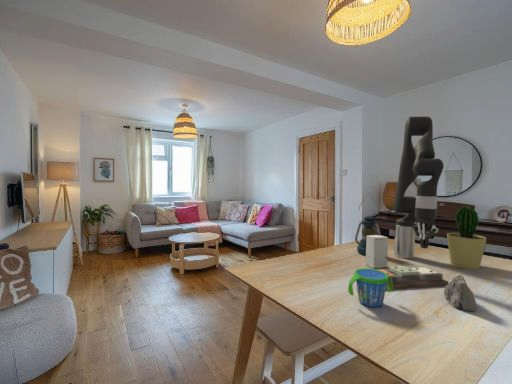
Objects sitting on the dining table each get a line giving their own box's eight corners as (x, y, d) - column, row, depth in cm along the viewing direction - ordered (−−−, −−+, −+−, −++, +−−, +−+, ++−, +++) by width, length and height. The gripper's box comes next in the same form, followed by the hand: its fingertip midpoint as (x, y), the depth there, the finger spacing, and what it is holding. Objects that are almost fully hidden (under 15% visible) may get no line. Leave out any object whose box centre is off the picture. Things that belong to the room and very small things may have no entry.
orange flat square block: (367, 274, 110) (367, 269, 110) (382, 273, 111) (383, 268, 111) (378, 281, 103) (378, 275, 103) (394, 280, 104) (394, 274, 104)
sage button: (389, 271, 112) (389, 266, 112) (403, 270, 113) (404, 265, 113) (400, 277, 105) (401, 271, 105) (416, 276, 106) (416, 271, 106)
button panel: (359, 276, 113) (359, 268, 113) (420, 273, 119) (421, 264, 118) (380, 290, 100) (380, 280, 100) (448, 285, 105) (448, 276, 105)
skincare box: (373, 268, 124) (374, 237, 123) (364, 265, 130) (365, 235, 129) (387, 267, 126) (388, 236, 126) (378, 263, 132) (379, 234, 132)
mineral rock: (447, 292, 98) (448, 266, 98) (484, 303, 90) (486, 274, 89) (434, 302, 90) (435, 273, 90) (474, 315, 82) (476, 283, 81)
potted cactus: (470, 261, 137) (472, 204, 136) (494, 271, 122) (497, 207, 121) (439, 260, 139) (441, 203, 138) (458, 269, 124) (461, 206, 122)
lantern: (382, 253, 151) (384, 192, 150) (380, 258, 141) (382, 193, 140) (356, 249, 159) (358, 191, 157) (352, 254, 149) (354, 192, 147)
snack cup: (355, 311, 83) (356, 279, 83) (341, 296, 94) (342, 268, 93) (402, 309, 85) (403, 278, 84) (383, 295, 95) (383, 267, 95)
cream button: (410, 272, 114) (410, 267, 113) (424, 271, 115) (424, 266, 115) (422, 278, 107) (423, 273, 107) (437, 277, 108) (438, 272, 108)
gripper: (447, 208, 103) (445, 252, 105) (421, 205, 116) (419, 243, 118) (431, 209, 102) (429, 252, 103) (406, 205, 115) (404, 244, 116)
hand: (424, 247), depth 110 cm, fingers closed
